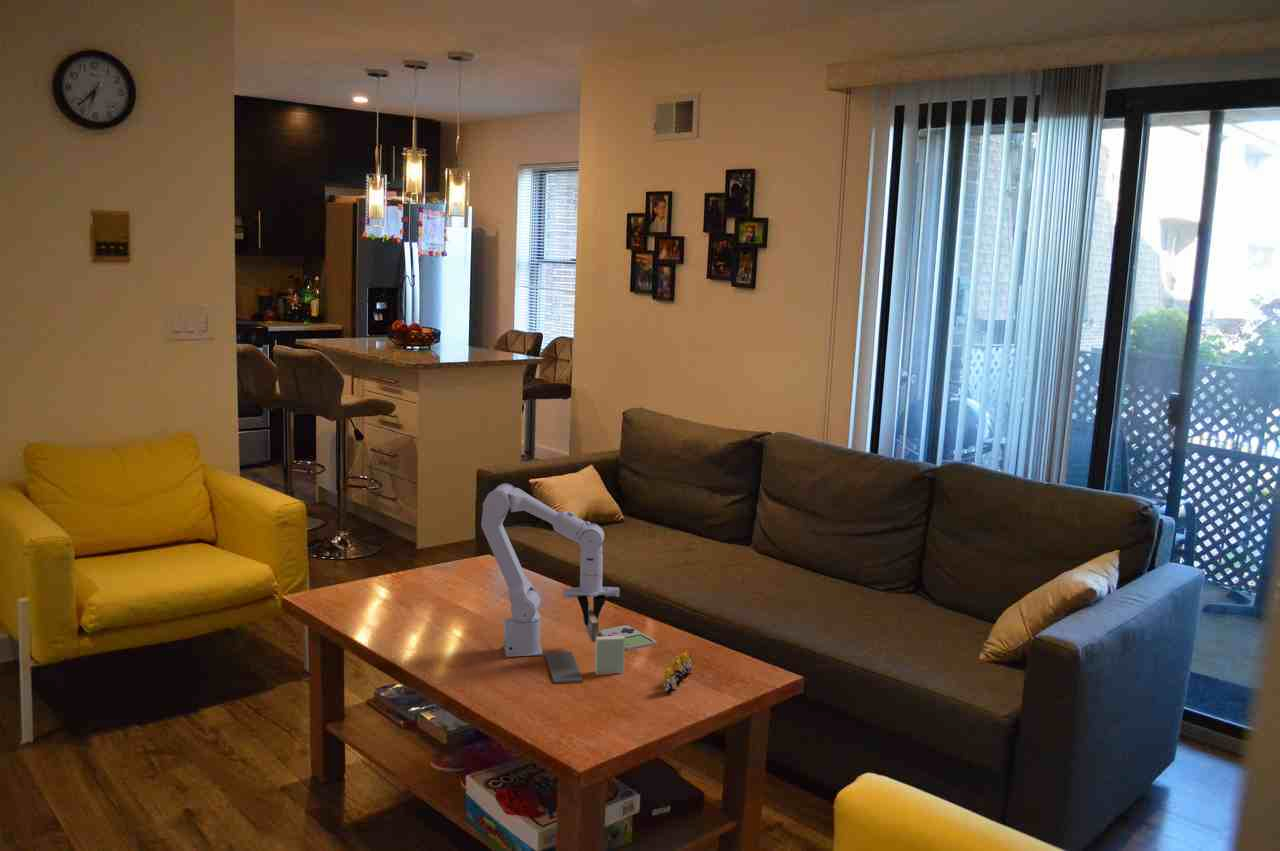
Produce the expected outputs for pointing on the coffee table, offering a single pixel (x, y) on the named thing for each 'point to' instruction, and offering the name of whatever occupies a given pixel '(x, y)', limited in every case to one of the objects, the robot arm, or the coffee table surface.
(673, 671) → the figurine set
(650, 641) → the handheld gaming console
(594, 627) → the beige bar
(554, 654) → the rubber mat
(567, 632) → the coffee table surface
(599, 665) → the tile
